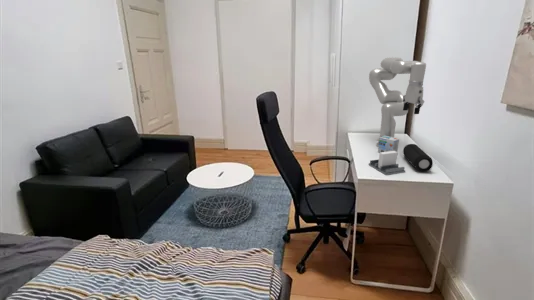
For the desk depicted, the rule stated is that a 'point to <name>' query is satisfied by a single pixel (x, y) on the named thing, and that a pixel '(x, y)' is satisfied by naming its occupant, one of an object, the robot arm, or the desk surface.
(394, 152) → the white block
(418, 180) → the desk surface
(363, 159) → the desk surface
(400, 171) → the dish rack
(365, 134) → the desk surface
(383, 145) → the light bulb box
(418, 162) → the portable speaker
